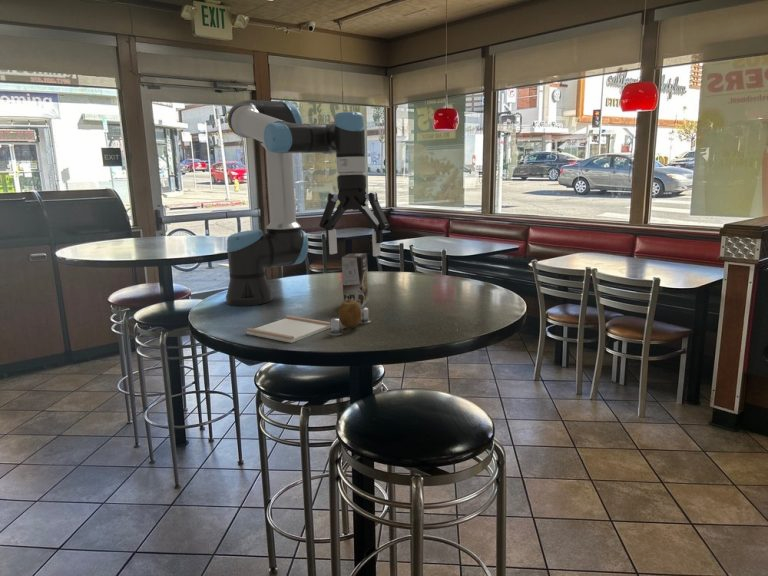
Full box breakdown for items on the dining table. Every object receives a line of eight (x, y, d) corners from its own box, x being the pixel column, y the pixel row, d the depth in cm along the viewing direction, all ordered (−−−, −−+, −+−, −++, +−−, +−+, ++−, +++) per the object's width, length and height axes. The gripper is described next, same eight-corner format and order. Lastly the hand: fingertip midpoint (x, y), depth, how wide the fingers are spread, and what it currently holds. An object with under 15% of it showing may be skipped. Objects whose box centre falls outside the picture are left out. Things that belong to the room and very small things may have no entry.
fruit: (362, 324, 154) (361, 296, 152) (361, 331, 147) (360, 301, 146) (340, 325, 154) (339, 297, 152) (337, 331, 148) (336, 302, 146)
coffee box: (362, 308, 172) (361, 257, 169) (342, 307, 174) (340, 256, 170) (369, 301, 181) (367, 252, 178) (350, 301, 183) (348, 252, 179)
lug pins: (326, 334, 145) (325, 320, 144) (363, 320, 158) (362, 306, 158) (336, 336, 143) (336, 321, 142) (373, 321, 156) (372, 308, 156)
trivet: (246, 333, 147) (246, 328, 147) (288, 320, 160) (288, 315, 160) (291, 342, 139) (291, 337, 138) (331, 327, 152) (331, 322, 151)
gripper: (304, 175, 147) (308, 254, 151) (386, 172, 135) (389, 258, 140) (320, 175, 154) (323, 251, 158) (400, 172, 142) (402, 254, 146)
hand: (354, 254), depth 149 cm, fingers open, 13 cm apart
